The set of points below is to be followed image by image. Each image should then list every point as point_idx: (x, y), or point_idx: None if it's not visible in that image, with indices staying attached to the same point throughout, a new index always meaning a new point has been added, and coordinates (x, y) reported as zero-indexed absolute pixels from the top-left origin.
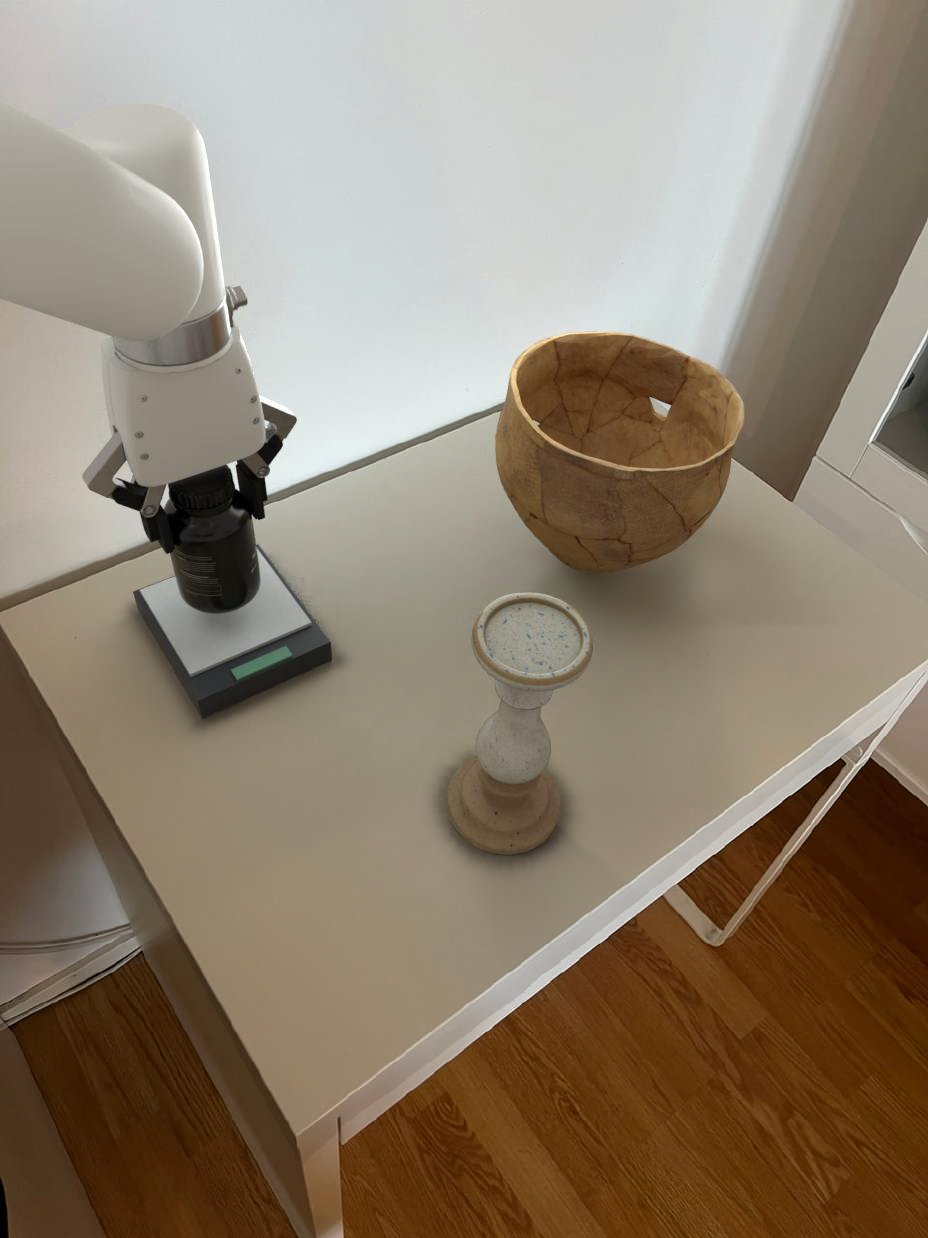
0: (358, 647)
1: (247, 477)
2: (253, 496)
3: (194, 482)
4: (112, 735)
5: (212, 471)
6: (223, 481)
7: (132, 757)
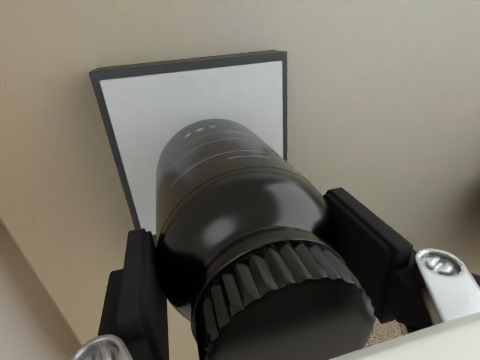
0: None
1: (380, 299)
2: None
3: None
4: (51, 236)
5: (331, 339)
6: None
7: (71, 262)
